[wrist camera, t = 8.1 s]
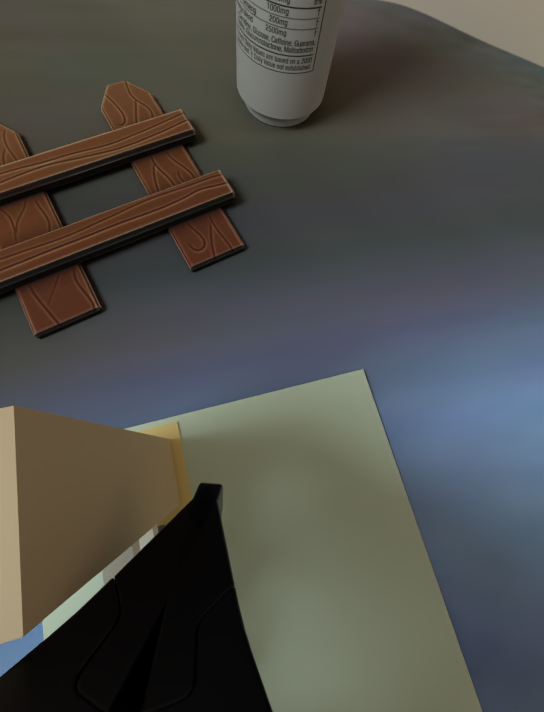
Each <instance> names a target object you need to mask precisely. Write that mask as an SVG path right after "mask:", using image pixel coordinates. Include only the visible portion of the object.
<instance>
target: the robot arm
mask: <svg viewBox="0 0 544 712" xmlns="http://www.w3.org/2000/svg"><path fill="white" fill-rule="evenodd" d="M222 509H223V486H222V484H215V483H200V484H199V486H198V488H197V490H196V492H195V495H194V497H193V499H192V500H191V501H190V502H189V503H188V504H187V505H186V506H185V507H184V508H183V509H182V510H181V511H180V512H179V513H178V514H177V515H176V516H175V517H174V518H173V519H172V520H171V521H170V522H169V523H168V524H167V525H166V526H165V527H164V528H163V529H162V530H161V531H160V532H159V533H158V534H157V535H156V536H155V537H154V538H152V539H151V540H150V541H149V542H148V543H147V544H146V545H145V546H144V547H143V548H142V549H141V550H140V551H139V552H138V553H137V554H136V555H135V556H134V557H133V558H132V559H131V560H130V561H129V562H128V563H127V564H126V565H125V566H124V567H123V568H122V569H121V570H120V571H119V572H118V573H117V574H116V575H115V577H114V578H112V579H110V580H109V581H108V582H107V583H106V584H105V585H104V586H103V587H102V588H101V589H100V590H99V591H98V592H97V593H96V594H95V595H94V596H93V597H92V598H91V599H90V600H89V601H88V602H87V603H86V604H85V605H83V606H82V607H81V608H80V609H79V610H78V611H77V612H76V613H75V614H74V615H73V616H72V617H70V618H69V619H68V620H67V621H66V622H65V623H64V624H62V625H61V626H60V627H59V628H58V629H57V630H55V631H54V632H53V633H52V634H51V635H50V636H49V637H47V638H46V639H45V640H44V641H43V642H42V643H40V644H39V645H38V646H37V647H36V648H34V649H33V650H32V651H31V652H30V653H28V654H27V655H26V656H25V657H24V658H23V659H21V660H20V661H19V662H18V663H17V664H15V665H14V666H13V667H12V668H11V669H9V670H8V671H7V672H6V673H5V674H3V675H2V676H1V677H0V712H273V711H272V708H271V705H270V702H269V699H268V696H267V693H266V691H265V688H264V685H263V682H262V679H261V676H260V673H259V670H258V668H257V665H256V662H255V659H254V656H253V653H252V650H251V647H250V643H249V640H248V637H247V634H246V631H245V627H244V623H243V619H242V615H241V611H240V607H239V602H238V597H237V592H236V588H235V584H234V579H233V574H232V569H231V564H230V559H229V554H228V549H227V544H226V539H225V534H224V529H223V524H222V519H221V517H222ZM114 579H115V580H114Z"/></svg>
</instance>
